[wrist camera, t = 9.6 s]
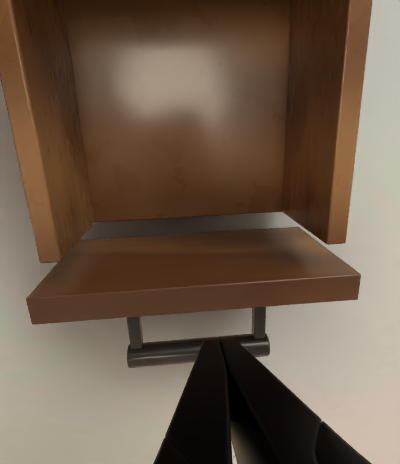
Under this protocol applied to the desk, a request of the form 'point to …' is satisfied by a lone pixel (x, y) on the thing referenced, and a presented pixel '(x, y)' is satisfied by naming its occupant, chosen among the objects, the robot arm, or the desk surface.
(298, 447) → the robot arm
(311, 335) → the desk surface
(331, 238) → the drawer
